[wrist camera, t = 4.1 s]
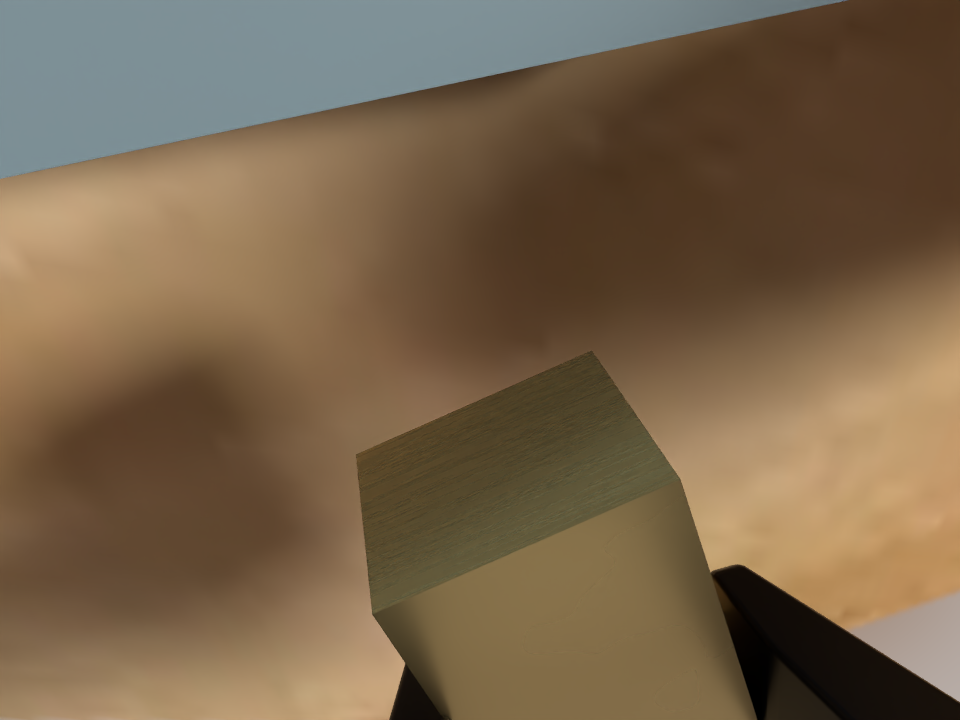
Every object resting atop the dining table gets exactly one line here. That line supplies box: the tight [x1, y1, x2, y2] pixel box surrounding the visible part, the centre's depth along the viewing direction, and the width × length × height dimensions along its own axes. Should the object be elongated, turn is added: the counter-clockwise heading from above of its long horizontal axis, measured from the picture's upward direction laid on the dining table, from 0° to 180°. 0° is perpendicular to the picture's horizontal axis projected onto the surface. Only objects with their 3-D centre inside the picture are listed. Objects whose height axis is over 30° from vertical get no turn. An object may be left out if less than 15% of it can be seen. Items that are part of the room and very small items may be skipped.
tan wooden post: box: [356, 351, 757, 720], centre depth 10 cm, size 3×6×2 cm, turn 21°
